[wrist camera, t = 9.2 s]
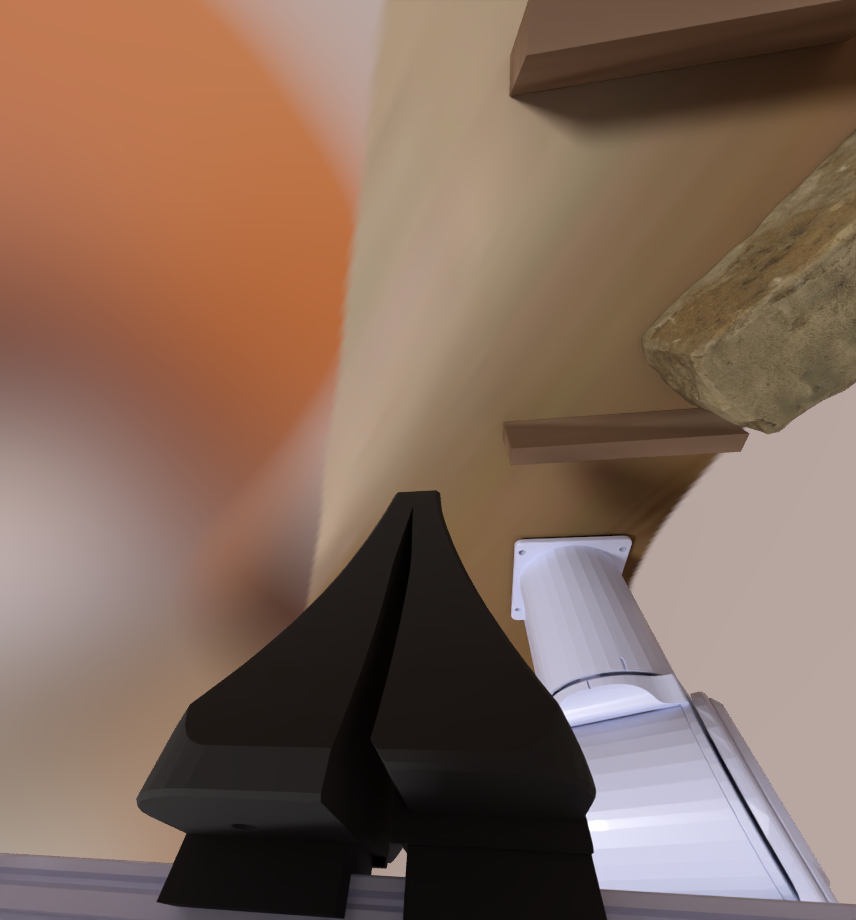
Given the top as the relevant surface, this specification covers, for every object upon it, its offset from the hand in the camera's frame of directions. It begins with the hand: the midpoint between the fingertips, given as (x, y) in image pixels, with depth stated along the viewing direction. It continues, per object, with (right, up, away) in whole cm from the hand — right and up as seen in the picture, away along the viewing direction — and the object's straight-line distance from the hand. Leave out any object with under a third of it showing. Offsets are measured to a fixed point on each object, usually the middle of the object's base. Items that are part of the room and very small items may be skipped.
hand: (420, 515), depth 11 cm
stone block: (+16, +10, +4) cm, 19 cm away
